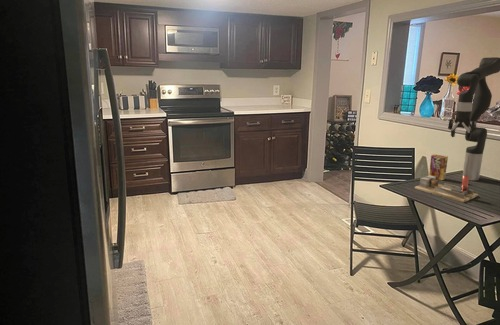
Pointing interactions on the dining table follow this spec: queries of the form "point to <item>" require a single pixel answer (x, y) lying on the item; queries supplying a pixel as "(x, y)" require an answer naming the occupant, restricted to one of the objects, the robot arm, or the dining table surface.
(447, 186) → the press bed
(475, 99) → the robot arm
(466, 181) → the plate with copper rod
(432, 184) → the nut
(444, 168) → the candy box
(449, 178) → the dining table surface
